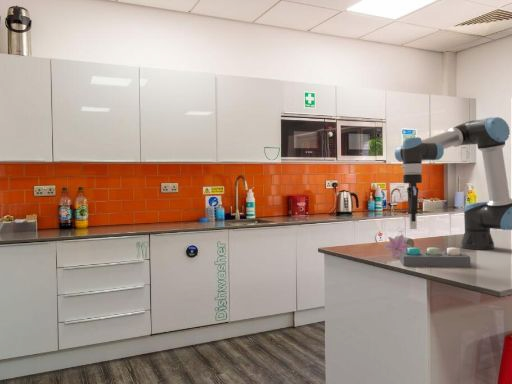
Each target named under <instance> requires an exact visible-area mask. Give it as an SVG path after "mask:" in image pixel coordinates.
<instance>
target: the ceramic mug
mask: <svg viewBox="0 0 512 384" xmlns="http://www.w3.org/2000/svg"><path fill="white" fill-rule="evenodd" d="M399 236H400V235H396V236H395V237H394V238H393V239H394V240H396V239H397V238H398V237H399ZM404 244H407V245H410V246H411V247H415V241H414V240H413V238H410V237H406V236H404ZM406 251H407V252H408V249H406Z"/></svg>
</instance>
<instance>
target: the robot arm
mask: <svg viewBox="0 0 512 384" xmlns="http://www.w3.org/2000/svg"><path fill="white" fill-rule="evenodd" d="M509 138H510V126H509V125H508V122H507V121H506V120H505V119H503V118H502V117H499V116H498V117H497V116H496V117H495V116H494V117H487V118H481V119H475V120H470V121H466V122H463V123H460V124H458V125H456V126H454V127H450V128H449V129H448V130H447V131H444V132H442V133H439V134H436V135H433V136H430V137H426V138H425V139H422V138H421V137H418V136H417V137H406V138H403V141H402V145H400V146H397V147H396V148H395V151H394V156H395V159H396V160H397V161H398V162H401V163H402V165H401V169H402V172H403V176H402V181H403V184H408V187H407V188H406V193H407V206H408V208H407V209H408V210H407V211H408V214H409V215H408V216H409V217H408V218H409V219H408V221H409V222H408V223H409V225H408V227H409V230H417V225H418V224H417V221H418V219H417V214H418V211H419V210H418V204H419V202H418V201H419V200H418V197H419V187H417V186H418V185H417V184H421V183H422V182H423V180H422V179H423V176H422V174H421V173H423V166H422V165H423V164H422V162H423V161H438V160H440V159H442V158H443V156H444V154H445V153H444V150H445V149H448V148H451V147H454V148H455V147H456V148H457V147H460V146H467V145H476V146H477V149H478V150H479V151H480V152H481V154H482V160H483V161H482V162H483V167H484V175H485V180H486V187H487V194H488V201H483V202H482V201H480V202H472V203H466V204H465V205H464V210H463V215H464V218H463V220H464V233H463V236H462V239H461V243H460V244H461V245H460V247H461V248H462V249H469V250H481V251H482V250H493V249H495V242H494V239H493V237H492V234H491V229H494V230H502V231H512V198H511V197H510V191H509V184H508V179H507V178H508V177H507V171H506V164H505V157H504V152H503V148H504V147H505V146H506V141H507V140H509Z"/></svg>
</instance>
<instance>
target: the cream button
mask: <svg viewBox="0 0 512 384" xmlns="http://www.w3.org/2000/svg"><path fill="white" fill-rule="evenodd" d="M446 252H447V255H448V256H460V252H461V248H459V247H446Z"/></svg>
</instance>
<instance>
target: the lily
mask: <svg viewBox="0 0 512 384" xmlns="http://www.w3.org/2000/svg"><path fill="white" fill-rule="evenodd" d="M398 236H399V237H398V238H397V239H396V240H394V238H393V237H391V236H388V240H389V243H387V244H385V245H383V247H382V248H383V249H386V250H388V251H391V252H392V258H393V259H395V258H397V257H398V255H399V256H400V252H407V251H406V249H407V248H410V247H411V246H410V245H407V244H404V237H405V236H404V234H401V235H398Z"/></svg>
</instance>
